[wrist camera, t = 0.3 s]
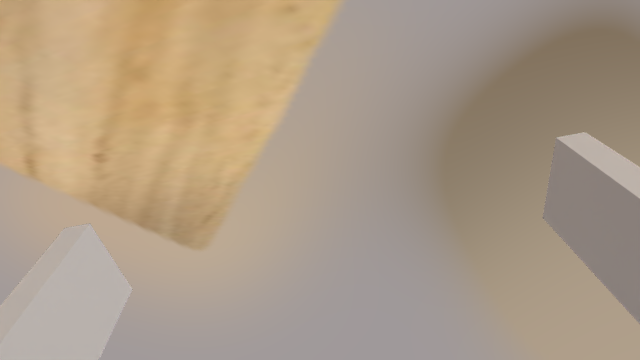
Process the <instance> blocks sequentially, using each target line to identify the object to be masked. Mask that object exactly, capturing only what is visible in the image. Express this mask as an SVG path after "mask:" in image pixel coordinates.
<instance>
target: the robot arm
mask: <svg viewBox="0 0 640 360" xmlns="http://www.w3.org/2000/svg"><path fill="white" fill-rule="evenodd" d="M543 219H544V220H545V221H546V222H547V223H548V224H549V225H550V226H551V227H552V228H553V230H554V231H555V232H556V233H557V234H558V235H559V236H560V237H561V238H562V239H563V241H564V242H565V243H566V244H567V245H568V246H569V247H570V248H571V249H572V250H573V251H574V253H575V254H576V255H577V256H578V257H579V258H580V259H581V260H582V261H583V262H584V263H585V264H586V266H587V267H588V268H589V269H590V270H591V271H592V272H593V273H594V274H595V276H596V277H597V278H598V279H599V280H600V281H601V282H602V283H603V284H604V285H605V286H606V288H607V289H608V290H609V291H610V292H611V293H612V294H613V295H614V296H615V297H616V299H617V300H618V301H619V302H620V303H621V304H622V305H623V306H624V307H625V308H626V309H627V311H629V313H630V314H631V315H632V316H633V317H634V318H635V319H636V320H637V321H638V322H639V324H640V167H639V166H637V165H636V164H634V163H632V162H631V161H629V160H628V159H626V158H625V157H623V156H621V155H620V154H618V153H617V152H615V151H614V150H612V149H610V148H609V147H607V146H606V145H604V144H602V143H601V142H600V141H598V140H596V139H595V138H593V137H592V136H590V135H589V134H587V133H585V132H584V133H579V134H574V135H568V136H562V137H557V138H556V142H555V147H554V153H553V160H552V165H551V172H550V177H549V183H548V190H547V196H546V201H545V207H544V213H543ZM131 291H132V288H131V286H130V285H129V283H128V282H127V280H126V278H125V277H124V275H123V274H122V272H121V271H120V269H119V268H118V266H117V265H116V263H115V261H114V260H113V258H112V257H111V255H110V254H109V252H108V251H107V249H106V248H105V246H104V245H103V243H102V241H101V240H100V238H99V237H98V235H97V234H96V232H95V231H94V229H93V227H92V226H91V224H84V225H79V226H73V227H68V228H64V229H63V231H62V232H61V233H60V234H59V235H58V237H57V238H56V239H55V240H54V241H53V243H52V244H51V245H50V246H49V247H48V249H47V250H46V251H45V252H44V254H43V255H42V256H41V257H40V258H39V260H38V261H37V262H36V263H35V265H34V266H33V267H32V268H31V269H30V270H29V272H28V273H27V274H26V275H25V277H24V278H23V279H22V280H21V281H20V283H19V284H18V285H17V286H16V288H15V289H14V290H13V291H12V292H11V294H10V295H9V296H8V297H7V298H6V300H5V301H4V302H3V303H2V304H1V306H0V360H99V358H100V356H101V354H102V352H103V350H104V348H105V346H106V344H107V341H108V339H109V337H110V335H111V333H112V331H113V329H114V327H115V325H116V323H117V320H118V318H119V316H120V314H121V312H122V310H123V308H124V306H125V304H126V301H127V300H128V298H129V295H130V293H131Z"/></svg>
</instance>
